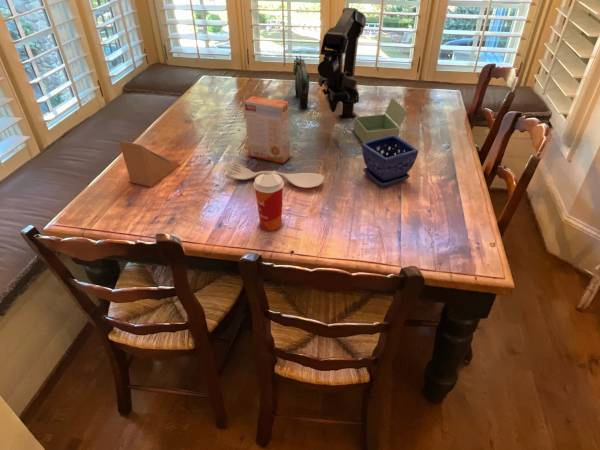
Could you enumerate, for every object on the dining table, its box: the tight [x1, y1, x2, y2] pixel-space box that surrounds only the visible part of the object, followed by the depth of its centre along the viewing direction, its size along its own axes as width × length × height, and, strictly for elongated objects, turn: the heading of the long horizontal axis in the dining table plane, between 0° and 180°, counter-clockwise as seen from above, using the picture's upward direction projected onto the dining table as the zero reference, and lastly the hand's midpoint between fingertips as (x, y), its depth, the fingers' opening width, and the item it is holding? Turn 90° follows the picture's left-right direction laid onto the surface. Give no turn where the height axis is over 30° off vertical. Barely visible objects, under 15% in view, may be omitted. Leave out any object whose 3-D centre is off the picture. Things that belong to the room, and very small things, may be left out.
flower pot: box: [361, 135, 419, 188], centre depth 142 cm, size 13×13×12 cm
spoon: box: [224, 162, 325, 189], centre depth 143 cm, size 9×32×4 cm, turn 79°
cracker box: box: [244, 95, 291, 164], centre depth 151 cm, size 14×6×21 cm, turn 65°
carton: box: [353, 113, 400, 143], centre depth 168 cm, size 14×13×6 cm
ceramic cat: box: [292, 55, 310, 111], centre depth 193 cm, size 20×6×20 cm, turn 6°
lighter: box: [323, 94, 343, 116], centre depth 163 cm, size 7×2×8 cm, turn 103°
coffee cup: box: [253, 173, 285, 232], centre depth 121 cm, size 8×8×15 cm
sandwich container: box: [119, 140, 178, 188], centre depth 144 cm, size 9×15×15 cm, turn 158°
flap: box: [384, 97, 408, 128], centre depth 166 cm, size 14×6×1 cm
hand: (332, 110), depth 164 cm, fingers closed on lighter, 2 cm apart
